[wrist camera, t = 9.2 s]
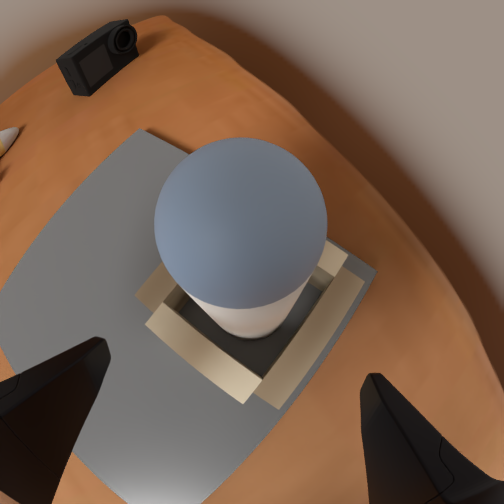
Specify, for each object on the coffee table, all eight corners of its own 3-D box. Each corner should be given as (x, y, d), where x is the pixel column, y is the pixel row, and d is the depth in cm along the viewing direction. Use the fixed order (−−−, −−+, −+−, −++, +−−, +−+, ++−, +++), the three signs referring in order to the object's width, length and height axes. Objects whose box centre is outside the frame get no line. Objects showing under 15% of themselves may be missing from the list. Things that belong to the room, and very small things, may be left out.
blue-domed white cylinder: (301, 317, 16) (392, 209, 5) (235, 354, 15) (175, 331, 4) (264, 256, 18) (271, 84, 6) (201, 290, 17) (108, 152, 6)
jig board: (372, 275, 18) (377, 271, 17) (170, 525, 11) (167, 531, 10) (142, 135, 24) (139, 128, 23) (-7, 319, 17) (-14, 316, 16)
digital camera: (94, 98, 27) (75, 56, 21) (73, 96, 28) (54, 59, 22) (145, 55, 31) (134, 17, 24) (121, 55, 32) (109, 21, 25)
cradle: (354, 285, 17) (371, 270, 14) (267, 411, 14) (269, 421, 11) (236, 208, 19) (233, 182, 16) (146, 316, 16) (125, 306, 14)
